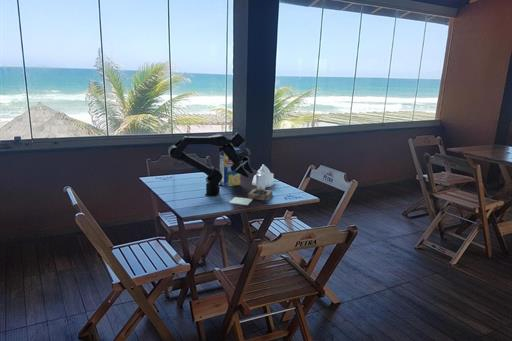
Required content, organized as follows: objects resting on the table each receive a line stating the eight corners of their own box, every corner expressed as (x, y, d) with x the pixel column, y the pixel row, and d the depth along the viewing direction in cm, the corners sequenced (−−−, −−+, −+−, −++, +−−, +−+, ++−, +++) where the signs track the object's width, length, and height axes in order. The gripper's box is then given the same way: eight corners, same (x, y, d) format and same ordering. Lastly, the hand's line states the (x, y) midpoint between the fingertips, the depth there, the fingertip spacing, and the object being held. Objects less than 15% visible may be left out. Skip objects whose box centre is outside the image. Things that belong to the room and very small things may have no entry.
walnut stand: (247, 198, 202) (247, 194, 201) (253, 193, 212) (253, 188, 212) (267, 200, 199) (267, 196, 198) (272, 195, 209) (272, 190, 209)
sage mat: (228, 203, 193) (228, 202, 193) (234, 197, 202) (234, 197, 202) (247, 205, 191) (247, 204, 191) (252, 199, 200) (252, 199, 200)
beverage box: (219, 183, 230) (219, 148, 225) (235, 182, 235) (236, 147, 230) (223, 186, 224) (224, 150, 219) (240, 184, 229) (241, 149, 224)
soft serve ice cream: (278, 189, 227) (279, 168, 220) (254, 192, 224) (254, 171, 218) (273, 179, 238) (273, 159, 231) (250, 181, 235) (249, 161, 228)
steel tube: (254, 197, 204) (255, 175, 201) (257, 195, 209) (257, 173, 206) (263, 198, 203) (264, 176, 200) (265, 196, 207) (266, 174, 204)
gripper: (236, 146, 193) (256, 169, 193) (246, 141, 211) (264, 162, 211) (222, 160, 197) (241, 182, 197) (232, 154, 214) (251, 174, 214)
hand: (250, 174), depth 204 cm, fingers open, 9 cm apart
